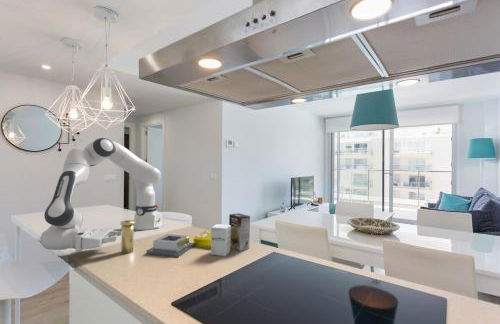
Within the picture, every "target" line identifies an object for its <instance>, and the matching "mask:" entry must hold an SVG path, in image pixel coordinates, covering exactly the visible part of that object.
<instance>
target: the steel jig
mask: <svg viewBox="0 0 500 324" xmlns="http://www.w3.org/2000/svg"><path fill="white" fill-rule="evenodd" d="M194 244H195V243H193V242H190V235H183V234H182V235H181V234H173V233H172V234H170V233H167V234H164V235H162V236H160V237H158V238H156V239H154V240H153V241H152V247H151V248H149V249H147V250H146V255H151V254H154V256H161V255H164V256H163V257H171V256H175V257H174V258H180V257H181V256H183V255H184V254H186V253H187V252H189V251H190V250H191V249H193V248H194V247H195V246H194ZM185 252H186V253H185ZM179 256H180V257H179Z"/></svg>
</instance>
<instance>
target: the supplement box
mask: <svg viewBox="0 0 500 324" xmlns="http://www.w3.org/2000/svg"><path fill="white" fill-rule="evenodd" d="M210 231H211V248H210V255H213V256H222V257H227V255H228V254H230V252H231V247H230V242H231V225H229V224H219V223H216V224H214V225H213V226H211V230H210Z"/></svg>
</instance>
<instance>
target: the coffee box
mask: <svg viewBox="0 0 500 324" xmlns="http://www.w3.org/2000/svg"><path fill="white" fill-rule="evenodd" d="M228 218H229V223H228V225H231V242H230V248H232V249H235V250H237V251H240V252H241V251H246V250H249V249H250V232H251V231H250V230H251V216H250V215H247V214H242V213H239V212H238V213H232V214H231V213H230V214H229V216H228Z"/></svg>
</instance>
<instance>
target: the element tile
mask: <svg viewBox="0 0 500 324" xmlns="http://www.w3.org/2000/svg"><path fill="white" fill-rule="evenodd" d="M192 238H193V239H192V243H195V244H194V247H198V248H205V249H211V230H210V231H207V230H206V231H202V232H201V233H199V234H197V235H195V236H193V237H192Z"/></svg>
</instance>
